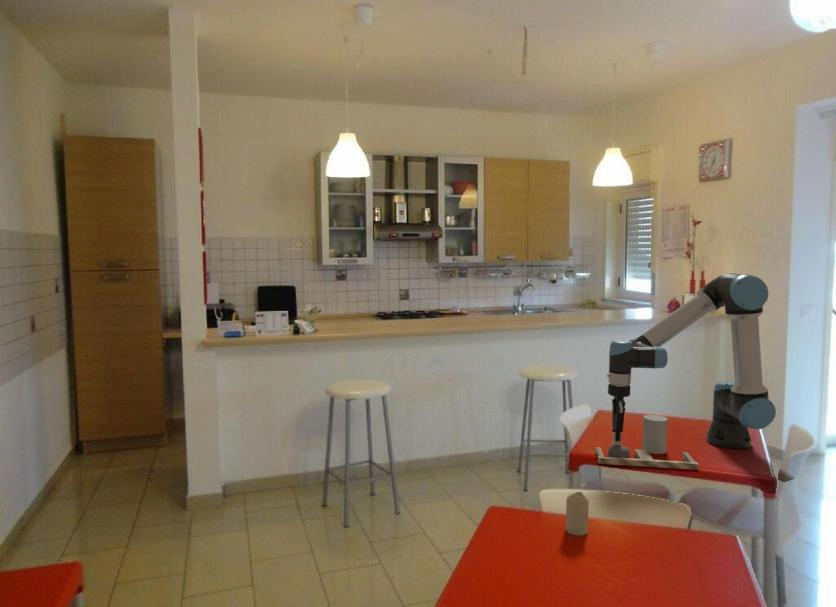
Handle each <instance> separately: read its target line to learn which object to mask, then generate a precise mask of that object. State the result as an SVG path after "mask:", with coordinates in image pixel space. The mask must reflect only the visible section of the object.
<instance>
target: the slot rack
mask: <svg viewBox="0 0 836 607" xmlns="http://www.w3.org/2000/svg"><path fill="white" fill-rule="evenodd" d="M595 454H596V457H597V463H598V464H601V465H616V466H617V465H618V466H628V467H630V466H631V467H645V468H646V467H648V468H662V469H663V468H664V469H679V470H680V469H681V470H695V471H698V470H699V463H698V462H696V461H695V460H694V459H693V457H692V456H691V455H690V454H689V453H688V452H687V451H682V454H681V455H682V456H681V458H682V460H684V461H681V460H680V461H679V460H664V459H663V460H662V459H653V457H652V456H651V453H649V452H648V451H647V450H642V449H639V448H638V449H636V448H635V449H634V456H635V457H636V458H633V457H632V458H630V457H629V458H616V457H609V456H605V455H604V453H603V450H602V448H601V447H600V446H595Z"/></svg>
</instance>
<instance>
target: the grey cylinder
mask: <svg viewBox="0 0 836 607" xmlns="http://www.w3.org/2000/svg"><path fill="white" fill-rule="evenodd" d="M668 422H669V421H668V417H666V416H663V415H659V414H645V415H643V421H642V442H641V443H642V444H641V445H642V446H641V450H647V451H648V453H649V454H653V455H663V454H665V453H666V452H667V443H668V442H667V438H668Z"/></svg>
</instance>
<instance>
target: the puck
mask: <svg viewBox="0 0 836 607" xmlns="http://www.w3.org/2000/svg"><path fill="white" fill-rule="evenodd" d="M607 448H608V453H607V455H608V456H607V457H616V458H630V448H629V447H627V446H625V445H621V446H619V445H609V446H608V447H607Z"/></svg>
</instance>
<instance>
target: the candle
mask: <svg viewBox="0 0 836 607" xmlns="http://www.w3.org/2000/svg"><path fill="white" fill-rule="evenodd" d="M589 501H590V500H589V499H588V498H587V496H586V495H585V494H584V493H583V492H582V491H577V492H575V493H570V494H569V495H568V496H566V503H565V504H566V507H565V508H566V509H565V511H566V512H565V531H566V532H567V533H568V534H570V535H573V536H582V537H583V536H585V535H587V534H588V530H589V529H588V528H589Z"/></svg>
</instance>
